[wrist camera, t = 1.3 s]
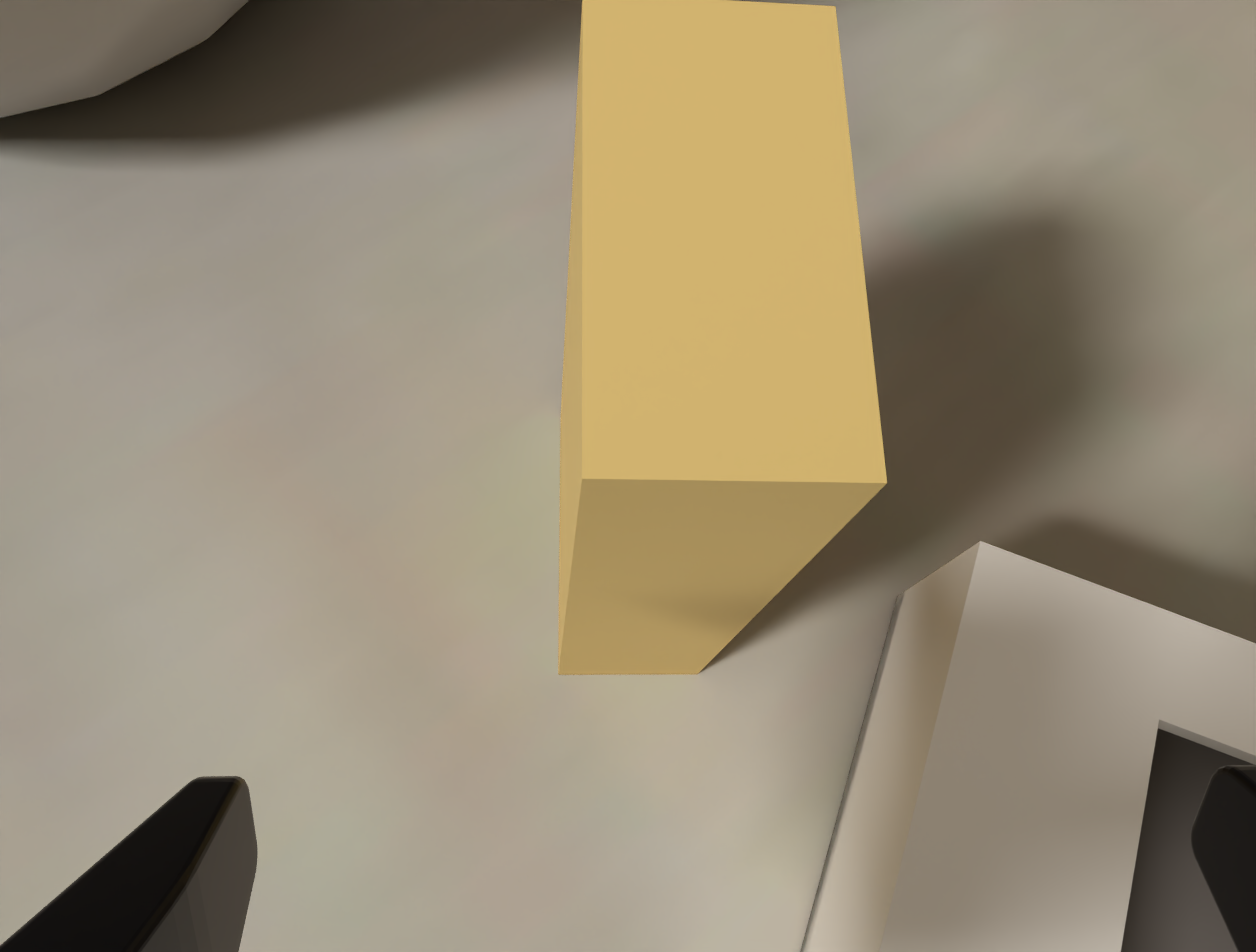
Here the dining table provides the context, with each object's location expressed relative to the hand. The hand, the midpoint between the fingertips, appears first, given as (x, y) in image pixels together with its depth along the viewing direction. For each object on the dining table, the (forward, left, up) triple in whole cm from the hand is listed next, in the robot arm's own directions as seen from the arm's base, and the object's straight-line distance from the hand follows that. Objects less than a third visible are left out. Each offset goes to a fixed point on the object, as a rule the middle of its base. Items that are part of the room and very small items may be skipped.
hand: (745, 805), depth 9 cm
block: (+5, -4, -12) cm, 13 cm away
